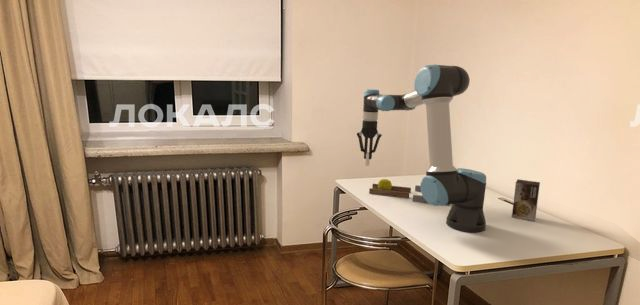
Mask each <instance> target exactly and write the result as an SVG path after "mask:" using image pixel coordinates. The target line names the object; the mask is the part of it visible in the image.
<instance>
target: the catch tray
mask: <svg viewBox="0 0 640 305" xmlns="http://www.w3.org/2000/svg"><path fill="white" fill-rule="evenodd" d="M420 186H421V185H417V184H415V186H414V192H419V193H421V187H420ZM412 202H415V203H416V202H417V203H423V204H424V203H426V204H429V203H428V202H427V201H426V199H424V197H423V195H422V194H412ZM447 206H450V204H448V205H447Z"/></svg>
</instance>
